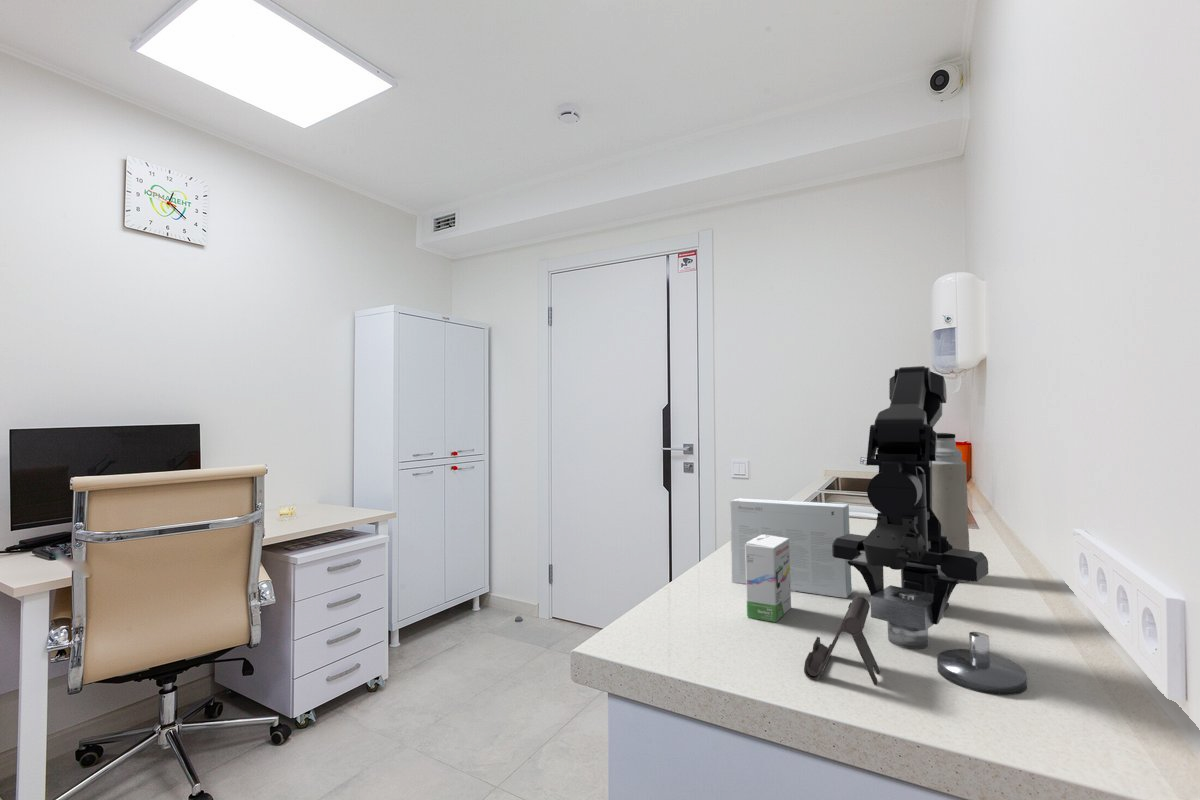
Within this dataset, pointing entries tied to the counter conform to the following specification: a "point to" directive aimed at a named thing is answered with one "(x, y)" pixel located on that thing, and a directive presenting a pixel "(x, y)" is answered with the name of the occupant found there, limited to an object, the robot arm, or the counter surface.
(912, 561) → the robot arm
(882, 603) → the grey square ring block
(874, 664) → the portable electronic device stand
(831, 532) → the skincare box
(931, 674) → the counter surface
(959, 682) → the hub
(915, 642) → the threaded levelling foot
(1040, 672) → the counter surface
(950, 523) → the thermos bottle
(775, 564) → the ink box
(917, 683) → the counter surface
